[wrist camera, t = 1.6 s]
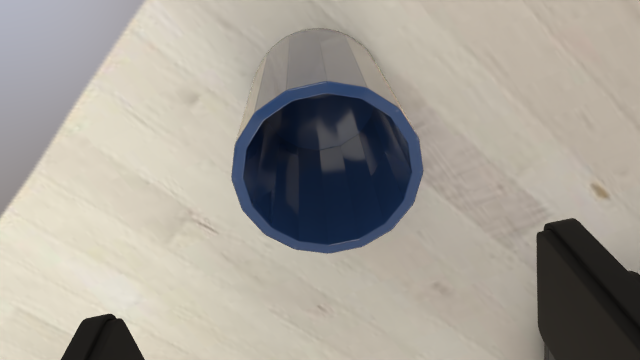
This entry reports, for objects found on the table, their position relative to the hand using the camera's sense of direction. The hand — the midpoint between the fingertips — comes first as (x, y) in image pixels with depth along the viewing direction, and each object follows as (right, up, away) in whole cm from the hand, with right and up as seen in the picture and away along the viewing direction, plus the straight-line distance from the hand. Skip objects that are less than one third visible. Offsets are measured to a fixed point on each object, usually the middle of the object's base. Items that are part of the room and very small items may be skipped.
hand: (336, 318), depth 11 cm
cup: (0, +7, +13) cm, 15 cm away
